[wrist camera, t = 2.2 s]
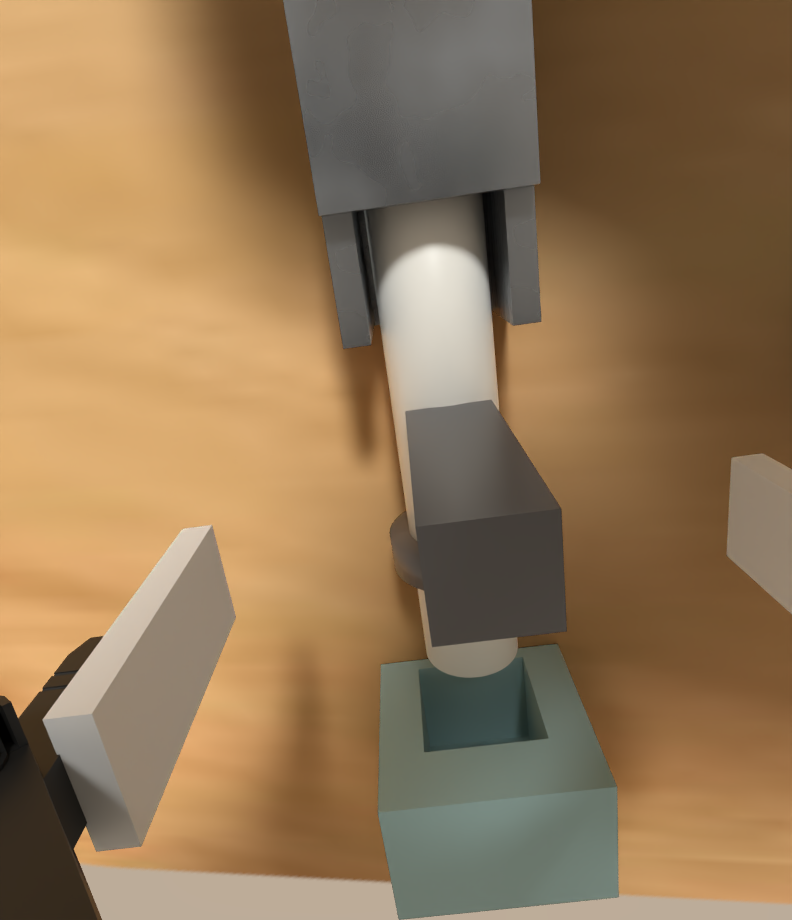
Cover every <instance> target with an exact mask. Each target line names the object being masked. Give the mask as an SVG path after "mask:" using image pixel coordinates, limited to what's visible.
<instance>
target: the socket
mask: <svg viewBox="0 0 792 920" xmlns="http://www.w3.org/2000/svg"><path fill="white" fill-rule="evenodd" d="M378 816H379V822H380V827H381V832H382V837H383V842H384V847H385V852H386V857H387V862H388V867H389V872H390V878H391V883H392V888H393V893H394V898H395V903H396V908H397V913H398V918H399V920H401V919H410V918H420V917H431V916H440V915H450V914H460V913H469V912H480V911H489V910H499V909H508V908H519V907H529V906H539V905H548V904H558V903H568V902H578V901H588V900H597V899H607V898H617V897H619V892H618V815H617V785H616V783H615V780H614V778H613V776H612V773H611V771H610V768H609V766H608V764H607V761H606V759H605V756H604V754H603V752H602V749H601V747H600V744H599V742H598V740H597V737H596V735H595V732H594V730H593V728H592V725H591V723H590V720H589V718H588V716H587V713H586V711H585V708H584V706H583V704H582V701H581V699H580V696H579V694H578V692H577V689H576V687H575V684H574V682H573V680H572V677H571V675H570V672H569V670H568V667H567V665H566V663H565V660H564V658H563V655H562V653H561V651H560V648H559V646H558V644H551V645H542V646H534V647H525V648H518V651H517V654H516V656H515V658H514V659H513V661H512V662H511V663H510V664H509V665H508V666H506V667H505V668H503V669H502V670H500V671H498V672H496V673H493V674H491V675H487V676H482V677H473V678H465V677H457V676H453V675H449V674H447V673H444V672H442V671H440V670H439V669H437V668H436V667H435V666H434V665H433V664H432V663H431V662H430V660H429V659H423V660H415V661H406V662H398V663H389V664H381V684H380V731H379V778H378Z"/></svg>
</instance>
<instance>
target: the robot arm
mask: <svg viewBox="0 0 792 920" xmlns="http://www.w3.org/2000/svg"><path fill="white" fill-rule="evenodd" d="M726 556H727V557H729V558H730V559H731V560H732V561H733V562H734V563H735V564H736V565H737V566H739V567H740V568H741V569H742V570H743V571H744V572H745V573H746V574H747V575H749V576H750V577H751V578H752V579H753V580H754V581H755V582H756V583H757V584H759V585H760V586H761V587H762V588H763V589H764V590H765V591H766V592H767V593H769V594H770V595H771V596H772V597H773V598H774V599H775V600H776V601H777V602H779V603H780V604H781V605H782V606H783V607H784V608H785V609H786V610H787V611H789V612H790V613H791V614H792V469H791V468H789V467H787V466H785V465H783V464H782V463H780V462H778V461H776V460H774V459H772V458H770V457H769V456H767V455H765V454H763V453H761V454H753V455H746V456H738V457H731V476H730V496H729V516H728V536H727V555H726ZM235 618H236V616H235V612H234V608H233V604H232V600H231V596H230V592H229V589H228V585H227V581H226V577H225V573H224V569H223V565H222V562H221V558H220V554H219V550H218V546H217V542H216V538H215V535H214V531H213V527H212V525H208V526H200V527H193V528H185V529H182V530H181V532H180V533H179V534H178V536H177V537H176V538H175V540H174V541H173V542H172V544H171V545H170V547H169V548H168V549H167V551H166V552H165V553H164V555H163V556H162V557H161V559H160V560H159V562H158V563H157V564H156V566H155V567H154V568H153V570H152V571H151V572H150V574H149V575H148V577H147V578H146V579H145V581H144V582H143V583H142V585H141V586H140V587H139V589H138V590H137V592H136V593H135V594H134V596H133V597H132V598H131V600H130V601H129V602H128V604H127V605H126V607H125V608H124V609H123V611H122V612H121V613H120V615H119V616H118V617H117V619H116V620H115V622H114V623H113V624H112V626H111V627H110V628H109V630H108V631H107V632H106V634H105V635H104V636H101V637H93V638H90V639H88V640H87V641H86V642H85V643H83V644H82V645H81V646H79V647H78V648H77V649H75V650H74V651H73V652H72V653H70V654H69V655H68V656H67V657H66V659H65V660H64V661H63V662H62V664H61V665H60V666H59V668H58V669H57V670H56V671H55V673H54V674H55V675H54V676H51V678H50V679H49V680H48V682H47V683H46V684H45V685H44V687H43V691H42V692H39V693H38V694H37V696H36V697H35V698H34V699H33V701H32V702H31V703H30V704H29V706H28V707H27V708H26V709H25V711H24V712H23V713H22V715H21V716H20V717H19V718H18V717H17V715H16V713H15V710H14V708H13V706H12V703H11V702H10V701H9V700H8V699H7V698H6V697H5V696H0V920H102V919H101V916H100V913H99V911H98V908H97V906H96V903H95V901H94V899H93V896H92V893H91V891H90V888H89V886H88V883H87V881H86V878H85V876H84V873H83V871H82V868H81V866H80V863H79V861H78V859H77V856H76V854H75V852H74V847H75V845H76V843H77V841H78V839H79V838H80V836H81V834H82V832H83V830H84V828H85V826H86V827H87V830H88V832H89V835H90V837H91V840H92V842H93V845H94V847H95V850H96V852H97V851H106V850H114V849H123V848H132V847H141V846H142V844H143V841H144V839H145V836H146V834H147V832H148V829H149V827H150V824H151V822H152V819H153V817H154V815H155V812H156V810H157V807H158V805H159V802H160V800H161V798H162V795H163V793H164V790H165V788H166V785H167V783H168V781H169V778H170V776H171V773H172V771H173V768H174V766H175V764H176V761H177V759H178V756H179V754H180V751H181V749H182V747H183V744H184V742H185V739H186V737H187V734H188V732H189V730H190V727H191V725H192V722H193V720H194V717H195V715H196V713H197V710H198V708H199V705H200V703H201V700H202V698H203V696H204V693H205V691H206V688H207V686H208V684H209V681H210V679H211V676H212V674H213V671H214V669H215V667H216V664H217V662H218V659H219V657H220V654H221V652H222V650H223V647H224V645H225V642H226V640H227V637H228V635H229V633H230V630H231V628H232V625H233V623H234V620H235Z"/></svg>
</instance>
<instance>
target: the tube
mask: <svg viewBox="0 0 792 920" xmlns="http://www.w3.org/2000/svg"><path fill="white" fill-rule="evenodd" d="M364 215H365V222H366V229H367V236H368V243H369V250H370V257H371V264H372V271H373V278H374V285H375V292H376V300H377V307H378V314H379V321H380V328H381V335H382V342H383V349H384V356H385V363H386V370H387V377H388V384H389V391H390V398H391V405H392V412H393V419H394V427H395V434H396V441H397V448H398V455H399V462H400V469H401V476H402V483H403V490H404V497H405V504H406V511H405V512H404V513H402V514H401V515H400V516H398V517H397V518H396V520H395V521H394V522H393V524H392V525H391V528H390V538H391V545H392V551H393V558H394V564H395V570H396V572H397V574H398V575H399V577H400V578H401V579H402V580H403V581H405V582H406V583H408V584H409V585H411V586H413V587H415V588H417V589H418V596H419V603H420V610H421V617H422V624H423V631H424V638H425V645H426V652H427V656H428V659H429V660H430V662H431V663H432V664H433V665H434V666H435V667H436V668H437V669H439V670H440V671H442V672H444V673H447V674H449V675H453V676H457V677H465V678H473V677H482V676H487V675H491V674H493V673H496V672H498V671H500V670H502V669H503V668H505V667H506V666H508V665H509V664H510V663H511V662H512V661H513V659H514V658H515V656H516V654H517V651H518V639H517V637H523V636H532V635H540V634H549V633H557V632H566V631H567V625H566V603H565V581H564V559H563V537H562V515H561V507H560V506H559V504H558V503H557V501H556V500H555V498H554V497H553V495H552V493H551V492H550V490H549V489H548V487H547V486H546V484H545V482H544V481H543V479H542V478H541V476H540V475H539V473H538V472H537V470H536V468H535V467H534V465H533V464H532V462H531V461H530V459H529V457H528V456H527V454H526V453H525V451H524V450H523V448H522V446H521V445H520V443H519V442H518V440H517V439H516V437H515V436H514V434H513V432H512V431H511V429H510V428H509V426H508V425H507V423H506V421H505V420H504V418H503V417H502V415H501V414H500V412H499V399H498V386H497V374H496V361H495V348H494V336H493V323H492V310H491V298H490V285H489V272H488V260H487V247H486V234H485V222H484V209H483V196H482V194H475V195H468V196H461V197H455V198H448V199H441V200H434V201H427V202H420V203H413V204H407V205H400V206H393V207H386V208H379V209H372V210H365V211H364Z"/></svg>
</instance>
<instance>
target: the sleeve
mask: <svg viewBox="0 0 792 920" xmlns="http://www.w3.org/2000/svg"><path fill="white" fill-rule="evenodd" d="M283 3H284V9H285V15H286V21H287V27H288V33H289V39H290V45H291V51H292V57H293V63H294V69H295V75H296V81H297V87H298V93H299V99H300V106H301V112H302V118H303V124H304V130H305V136H306V142H307V148H308V154H309V160H310V166H311V172H312V178H313V184H314V190H315V196H316V202H317V208H318V214H319V216H321V217H322V222H323V228H324V234H325V240H326V246H327V252H328V258H329V264H330V270H331V276H332V282H333V288H334V295H335V301H336V307H337V313H338V319H339V325H340V331H341V337H342V343H343V349H346V348H353V347H361V346H368V345H371V342H372V337H373V331H374V326H375V325H380V321H379V314H378V307H377V300H376V292H375V285H374V278H373V271H372V264H371V257H370V250H369V243H368V236H367V229H366V222H365V215H364V211H365V210H372V209H379V208H386V207H393V206H400V205H407V204H413V203H420V202H427V201H434V200H441V199H448V198H455V197H461V196H468V195H475V194H482V196H483V209H484V222H485V234H486V247H487V260H488V272H489V285H490V298H491V310H492V311H493V312H494V313H496V314H497V315H499V316H500V317H501V318H503V319H504V320H506V321H507V322H509V323H510V324H512V325H521V324H528V323H535V322H541V307H540V288H539V269H538V250H537V230H536V211H535V192H534V186H535V185H538V184H540V163H539V142H538V122H537V101H536V81H535V60H534V39H533V19H532V0H283Z"/></svg>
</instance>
